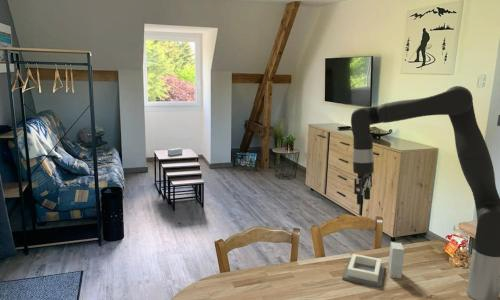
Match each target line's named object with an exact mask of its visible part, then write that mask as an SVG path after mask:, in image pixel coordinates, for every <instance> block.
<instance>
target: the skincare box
mask: <svg viewBox="0 0 500 300" xmlns="http://www.w3.org/2000/svg"><path fill="white" fill-rule="evenodd" d="M404 256H405V248H404V246H403V244H402V243H401V242H393V241H390V247H389V257H388V266H387V271H388V275H389V277H390V278H394V279H402V277H403V276H402V275H403V266H404Z"/></svg>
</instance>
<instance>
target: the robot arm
mask: <svg viewBox="0 0 500 300" xmlns="http://www.w3.org/2000/svg"><path fill="white" fill-rule="evenodd" d="M473 101H474V98H473V94H472V92H471V91H470V90H469V89H468V88H466V87H464V86H461V85H455V86H452V87H449V88H447V90H445V91H443V92H441V93H438V94H434V95H431V96H430V95H429V96H427V97H422V98H415V99H405V100H398V101H397V100H395V101H392V102H386V103H383V104H380V105H372V106H367V107H359V108H356V109H355V110H353V112H352V113H351V116H350V125H351V132H352V135H353V139H352V142H353V149H352V150H353V152H352V170H353V173H354V174H357V178H354V183H353V185H354V188H353V189H354V190H353V191H354V192H353V193H354V195H356V205H358V206H363V205H364V200H366V201H368V200H371V190H372V188H373V173H374V169H375V167H374V163H375V162H374V145H373V143H374V142H373V140H374V139H373V135H372V134H371V126H373V125H377V124H381V123H383V124H385V123H387V124H389V123H393V122H398V121H404V120H410V119H414V118H420V117H428V116H429V117H430V116H448V117H449V120H450V123H451V126H452V129H453V132H454V133H453V135H454V142H455V148H456V149H455V150H456V154H457V157H458V161H459V165H460V169H461V170H462V174H463V176H464V178H465V181H466V182H467V185H468V186H469V188H470V191H471V192H472V197H473V201H474V204H475V212H476V221H477V223H476V228H475V235H474V240H473V244H472V251H471V260H470V265H469V266H470V267H469V271H468V281H467V286H466V294H467V295H468V296H469V298H471V299H473V300H500V195H499V193H498V190H497V185H496V176H495V170H494V165H493V161H492V157H491V155H490V151H489V149H488V146H487V143H486V141H485V140H486V139H485V138H484V136H483V133H482V131H481V129H480V127H479V123H478V121H477V117H476V113H475V107H474V102H473Z"/></svg>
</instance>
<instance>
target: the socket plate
mask: <svg viewBox="0 0 500 300" xmlns="http://www.w3.org/2000/svg"><path fill="white" fill-rule="evenodd" d="M385 266H386V265H385V264H384V263H383V264H382V259H381V258H378V257H372V256H368V255H362V254H356V253H352V254H351V257H349V258H348V261H347V264H346V266H345V269H344V271H343V275H342V278H341V279H342V280H344V281H348V282H353V283H358V284H361V285H362V284H363V285H367V286H371V287H376V288H382V284H383V279H384V273H385V268H386V267H385Z"/></svg>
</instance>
